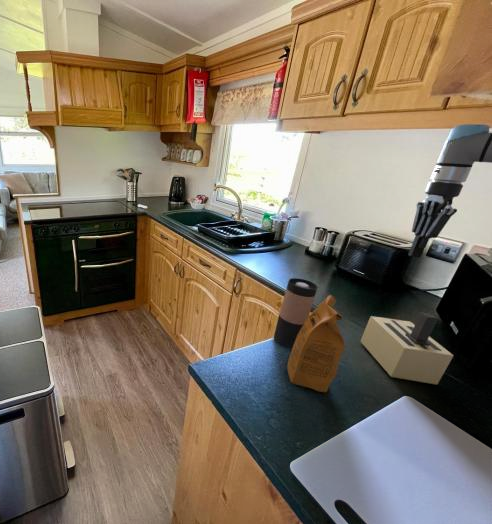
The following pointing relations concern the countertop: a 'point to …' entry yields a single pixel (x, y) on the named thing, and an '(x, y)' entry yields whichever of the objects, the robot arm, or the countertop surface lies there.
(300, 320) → the travel mug
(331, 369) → the coffee package
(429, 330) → the slide button
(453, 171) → the robot arm
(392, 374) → the toaster
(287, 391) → the countertop surface
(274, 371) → the countertop surface
